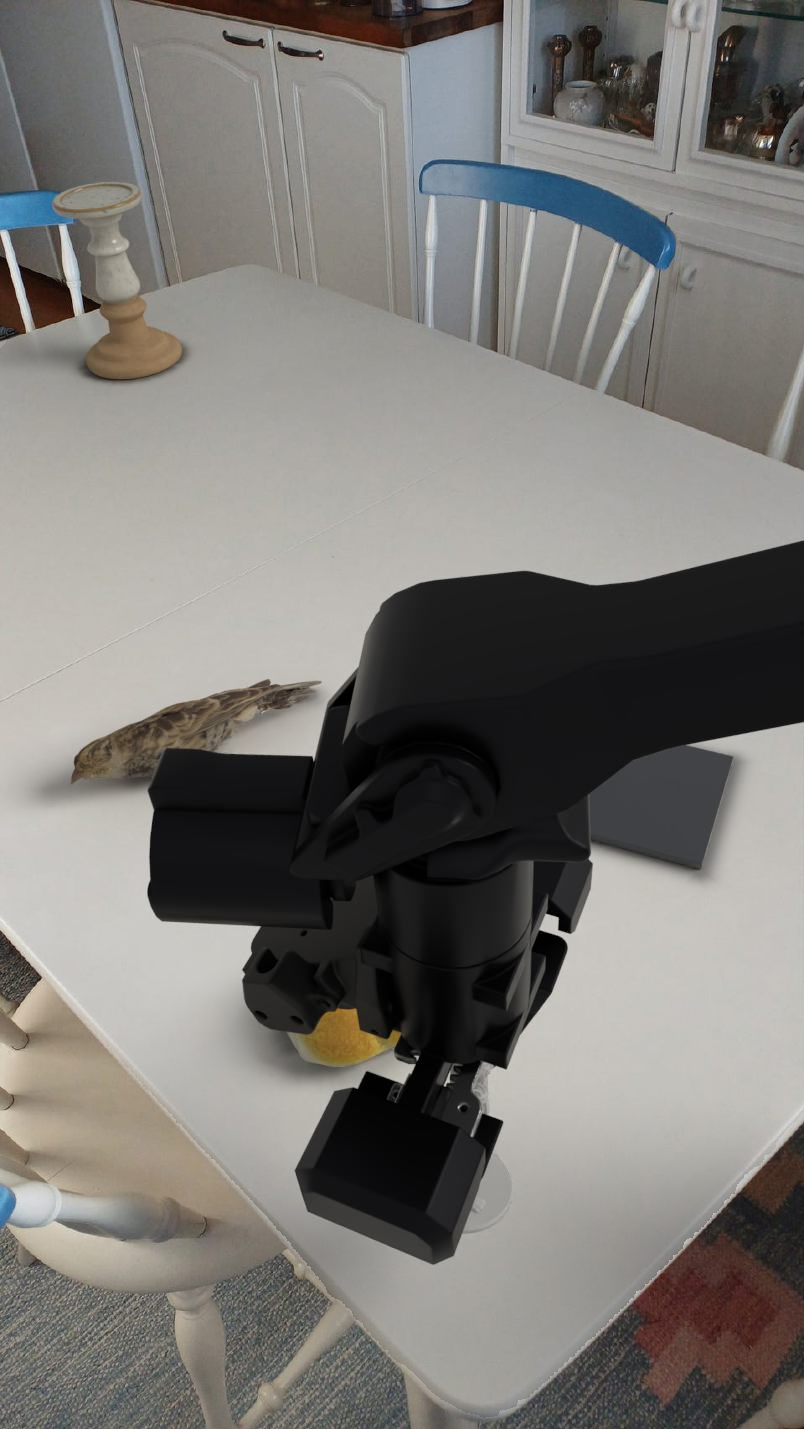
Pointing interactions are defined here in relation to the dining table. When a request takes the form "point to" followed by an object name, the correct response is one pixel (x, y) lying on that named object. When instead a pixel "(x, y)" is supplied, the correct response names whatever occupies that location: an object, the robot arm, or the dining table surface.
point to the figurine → (489, 1175)
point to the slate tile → (662, 804)
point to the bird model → (181, 730)
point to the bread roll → (340, 1041)
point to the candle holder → (117, 285)
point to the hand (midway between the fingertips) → (465, 1109)
